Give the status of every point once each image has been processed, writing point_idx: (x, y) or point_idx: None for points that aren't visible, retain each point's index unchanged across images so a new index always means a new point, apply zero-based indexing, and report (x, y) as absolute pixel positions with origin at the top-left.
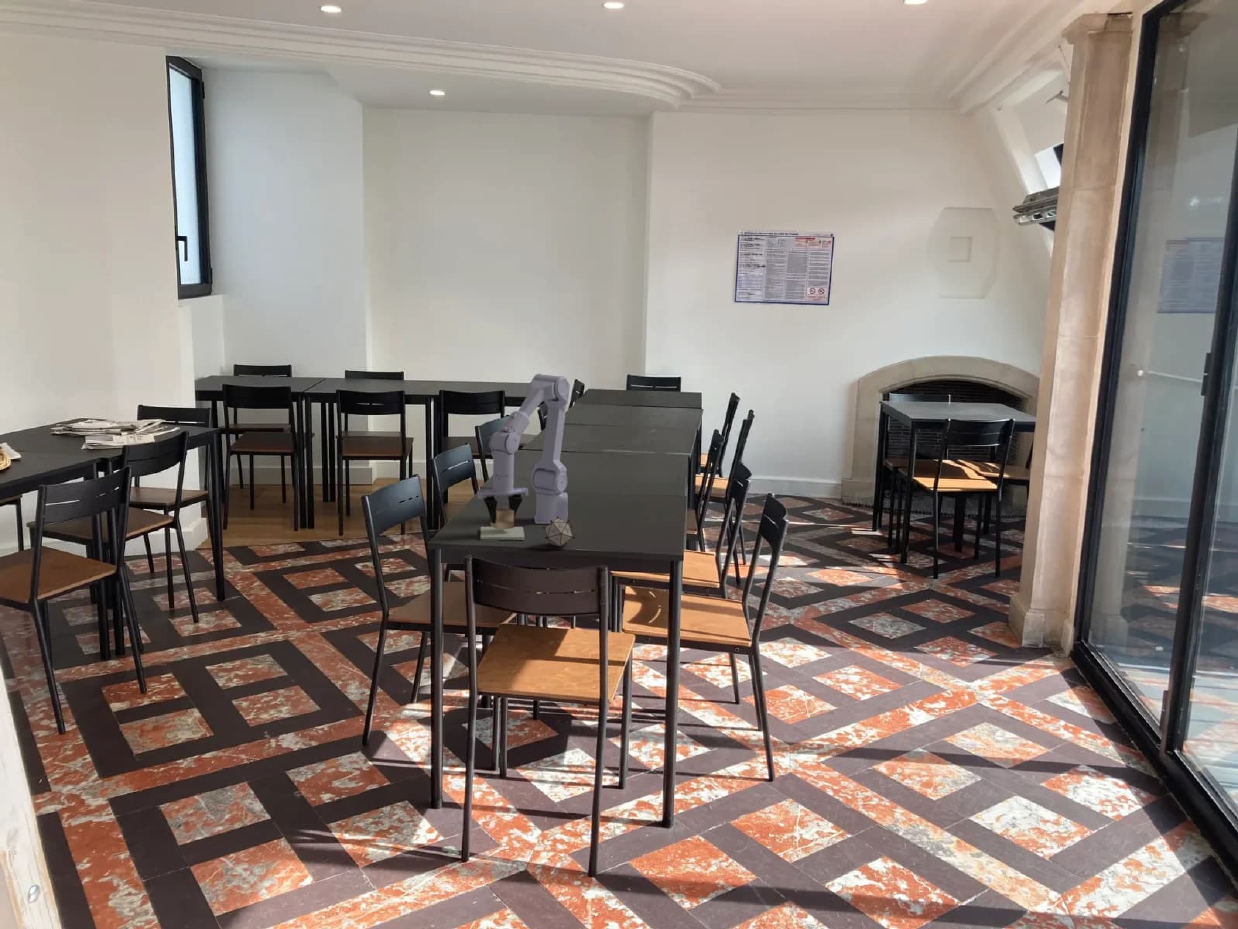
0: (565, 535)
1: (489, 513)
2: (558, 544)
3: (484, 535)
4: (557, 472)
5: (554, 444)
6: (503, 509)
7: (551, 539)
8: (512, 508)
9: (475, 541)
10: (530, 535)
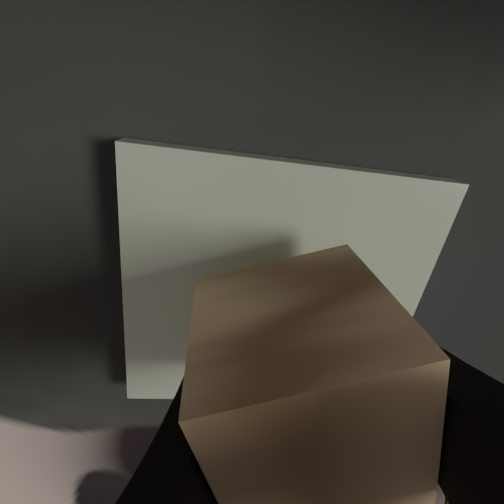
0: None
1: (164, 429)
2: None
3: (150, 373)
4: None
5: None
6: (342, 466)
7: None
8: (454, 486)
9: (103, 392)
10: (441, 298)
